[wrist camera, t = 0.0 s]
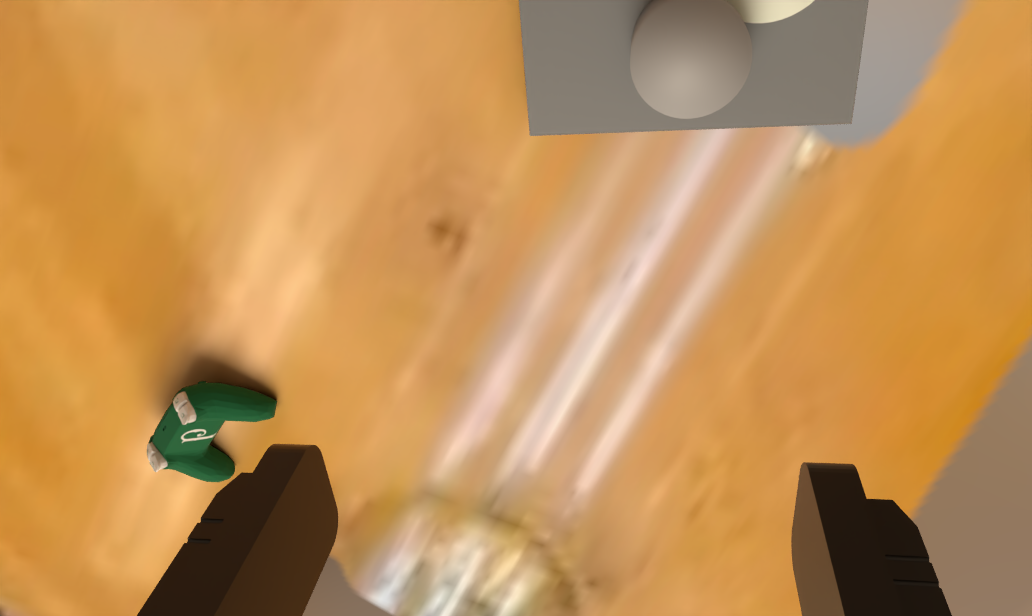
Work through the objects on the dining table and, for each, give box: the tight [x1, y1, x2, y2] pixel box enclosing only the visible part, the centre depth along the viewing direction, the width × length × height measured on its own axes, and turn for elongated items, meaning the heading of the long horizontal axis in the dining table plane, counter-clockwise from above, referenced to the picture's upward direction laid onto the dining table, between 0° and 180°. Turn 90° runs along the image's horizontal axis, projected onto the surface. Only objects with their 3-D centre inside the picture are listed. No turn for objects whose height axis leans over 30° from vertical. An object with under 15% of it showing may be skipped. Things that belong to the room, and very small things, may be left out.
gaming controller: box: [147, 381, 277, 482], centre depth 53 cm, size 9×4×6 cm
